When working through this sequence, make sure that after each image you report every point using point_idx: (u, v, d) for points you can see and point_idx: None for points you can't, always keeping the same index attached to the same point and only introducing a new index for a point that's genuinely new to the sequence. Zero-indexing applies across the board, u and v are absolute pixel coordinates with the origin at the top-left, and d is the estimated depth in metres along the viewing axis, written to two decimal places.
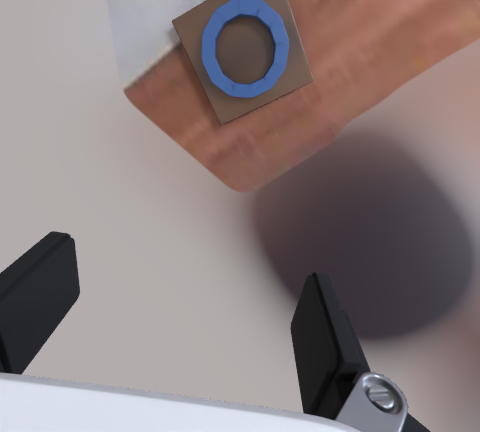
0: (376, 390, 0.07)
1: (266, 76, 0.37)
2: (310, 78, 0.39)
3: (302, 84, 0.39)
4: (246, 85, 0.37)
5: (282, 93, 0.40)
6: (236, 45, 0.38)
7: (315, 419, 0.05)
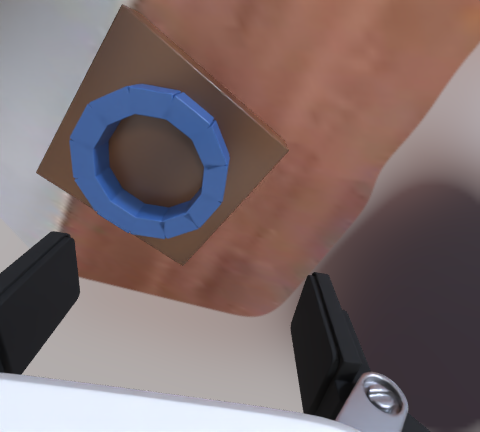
0: (376, 390, 0.07)
1: (204, 190, 0.21)
2: (281, 149, 0.21)
3: (273, 163, 0.22)
4: (181, 216, 0.22)
5: (247, 190, 0.23)
6: (140, 159, 0.22)
7: (315, 419, 0.05)
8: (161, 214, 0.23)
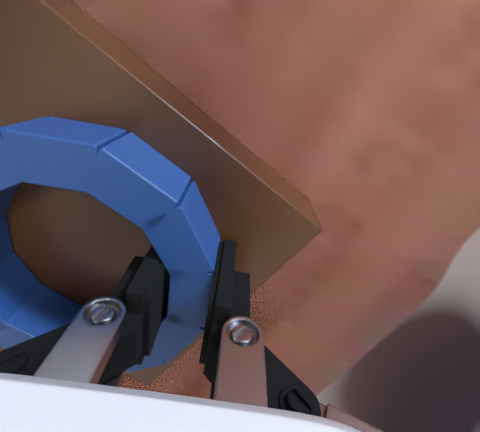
0: (237, 331, 0.08)
1: (171, 311, 0.11)
2: (310, 228, 0.12)
3: (293, 250, 0.13)
4: None
5: None
6: (62, 241, 0.13)
7: (315, 419, 0.05)
8: None
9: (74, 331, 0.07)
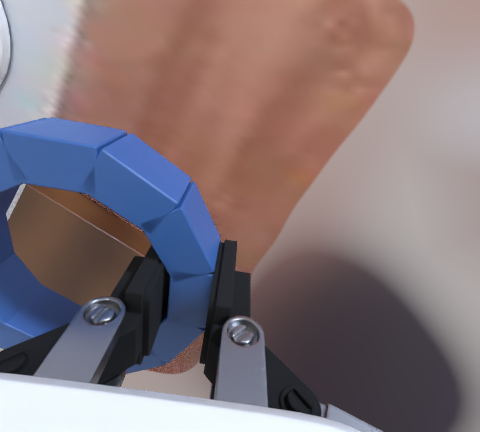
0: (237, 331, 0.08)
1: (171, 312, 0.11)
2: None
3: None
4: None
5: None
6: (55, 275, 0.29)
7: (315, 419, 0.05)
8: None
9: (74, 331, 0.07)
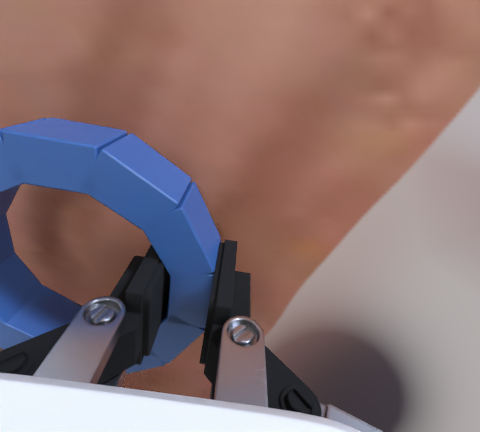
0: (237, 331, 0.08)
1: (172, 312, 0.11)
2: None
3: None
4: None
5: None
6: None
7: (315, 419, 0.05)
8: None
9: (74, 331, 0.07)
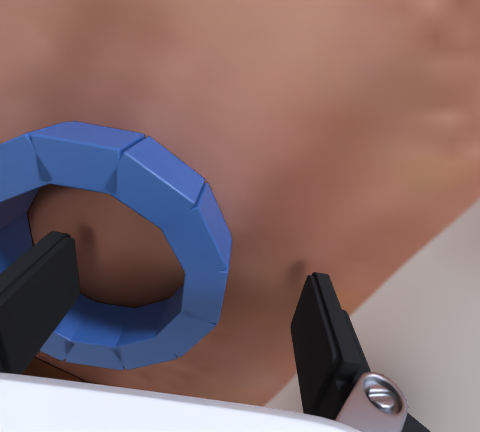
0: (376, 390, 0.07)
1: (185, 307, 0.12)
2: None
3: None
4: (147, 341, 0.13)
5: None
6: None
7: (315, 419, 0.05)
8: (118, 328, 0.14)
9: None
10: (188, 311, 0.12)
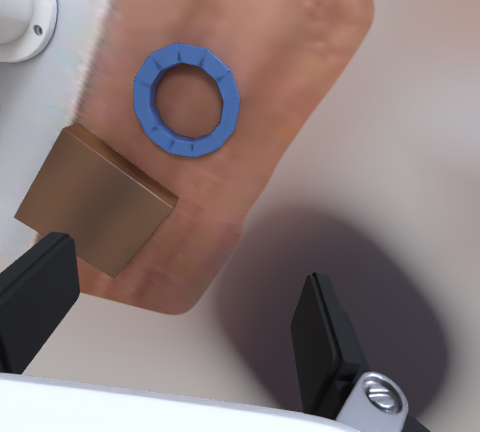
0: (376, 390, 0.07)
1: (222, 119, 0.30)
2: (168, 207, 0.34)
3: (164, 215, 0.35)
4: (205, 139, 0.31)
5: (150, 231, 0.36)
6: (80, 211, 0.35)
7: (315, 419, 0.05)
8: (190, 140, 0.32)
9: None
10: (223, 122, 0.30)
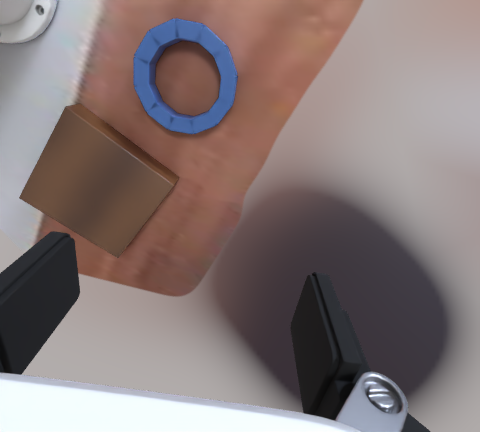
0: (376, 390, 0.07)
1: (220, 95, 0.31)
2: (169, 185, 0.35)
3: (165, 193, 0.35)
4: (204, 115, 0.32)
5: (152, 209, 0.36)
6: (83, 190, 0.35)
7: (315, 419, 0.05)
8: (190, 117, 0.33)
9: None
10: (221, 97, 0.31)
